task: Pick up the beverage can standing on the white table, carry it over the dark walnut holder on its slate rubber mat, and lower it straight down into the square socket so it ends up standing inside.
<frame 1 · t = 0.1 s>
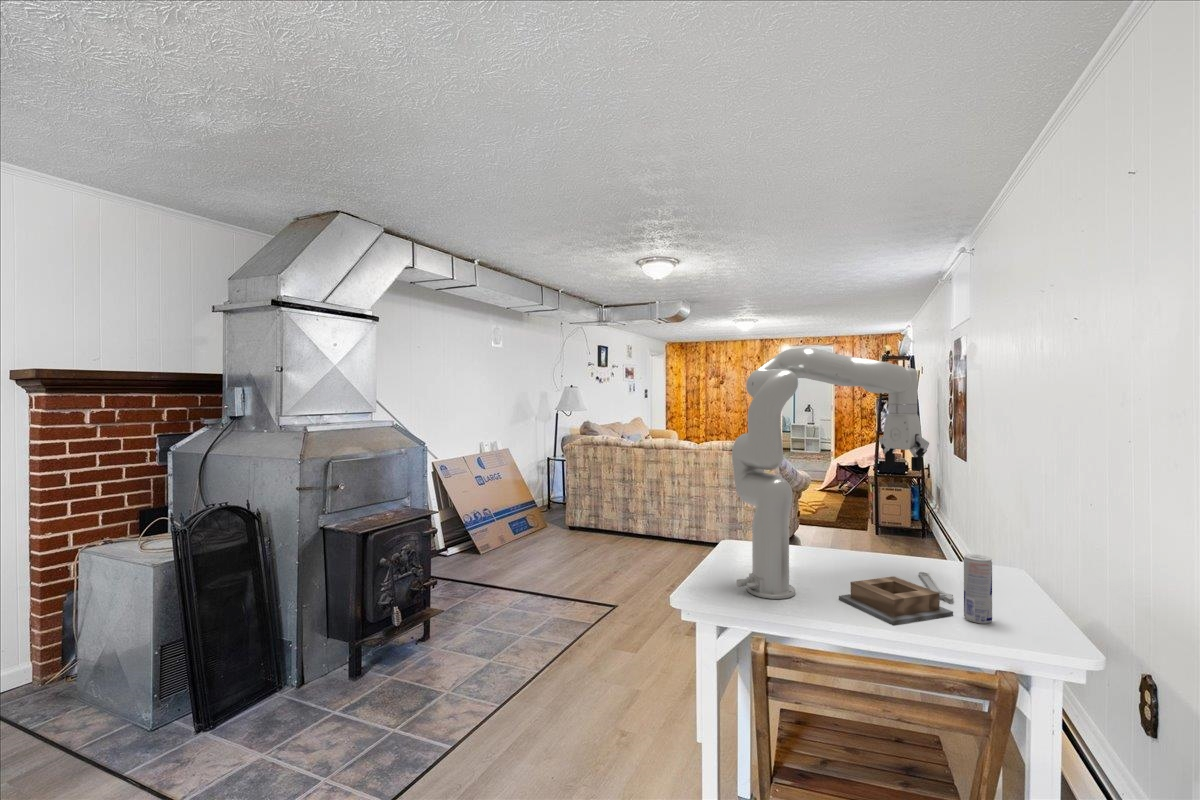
hand: (902, 468, 173), 31 cm above the table, tool pointing down, fingers open, 9 cm apart
holder: (893, 607, 147), on the table
beverage can: (977, 621, 139), on the table
adjustable wrench: (934, 591, 161), on the table
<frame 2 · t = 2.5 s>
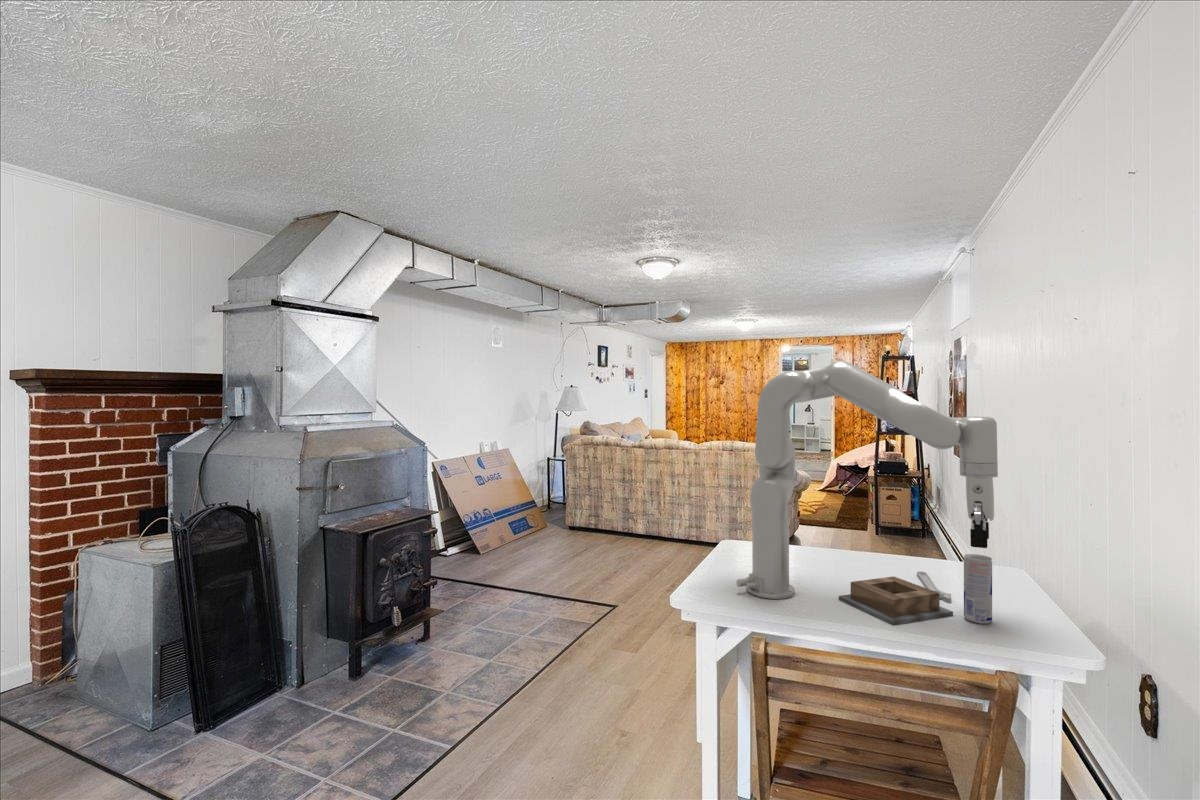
hand: (980, 542, 138), 18 cm above the table, tool pointing down, fingers open, 9 cm apart
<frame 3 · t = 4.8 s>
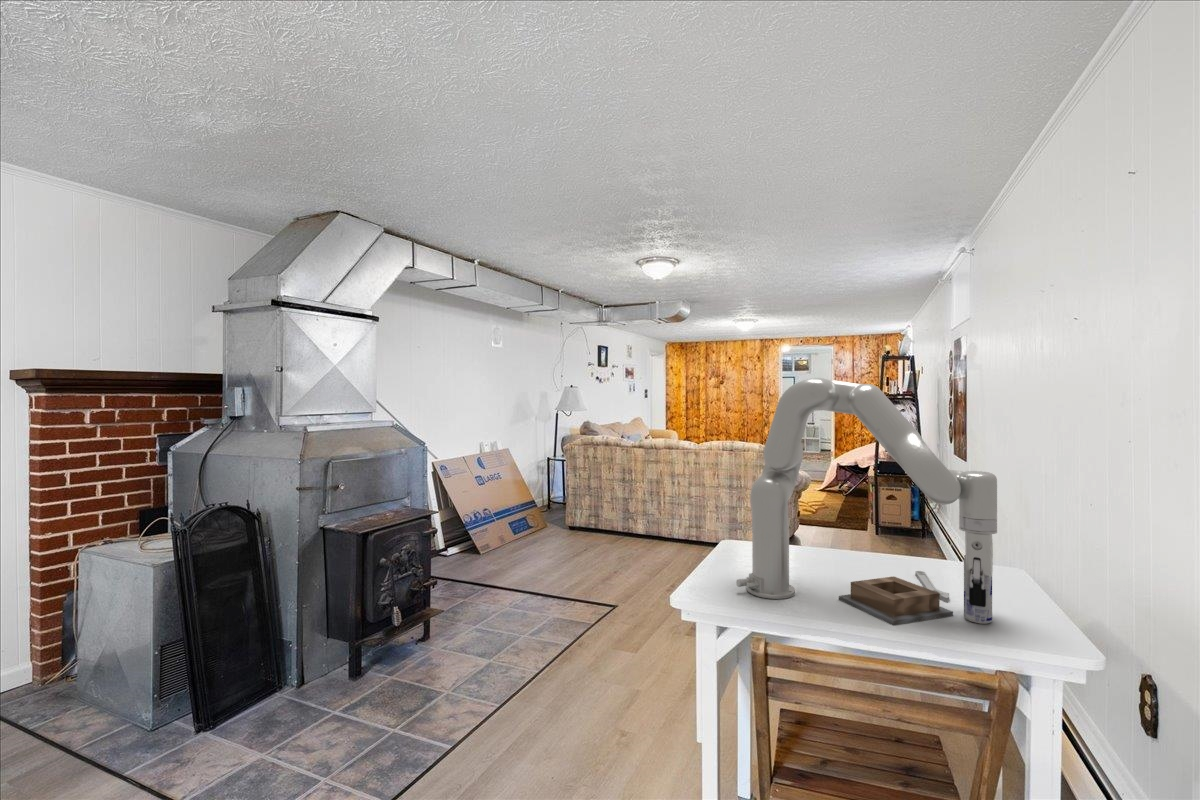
hand: (978, 600, 139), 5 cm above the table, tool pointing down, fingers closed on beverage can, 5 cm apart
beverage can: (977, 621, 139), on the table, touching gripper
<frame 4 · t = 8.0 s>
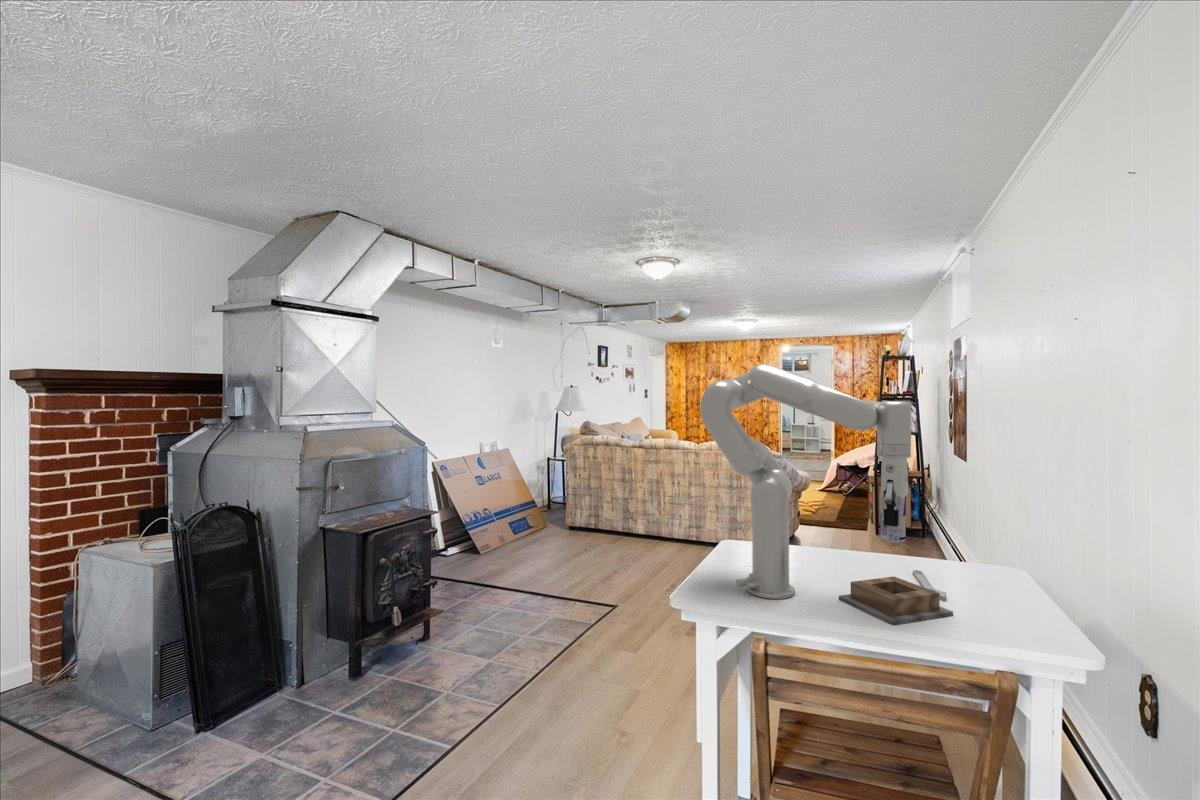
hand: (893, 522, 147), 21 cm above the table, tool pointing down, fingers closed on beverage can, 5 cm apart
beverage can: (892, 541, 147), point 16 cm above the table, touching gripper
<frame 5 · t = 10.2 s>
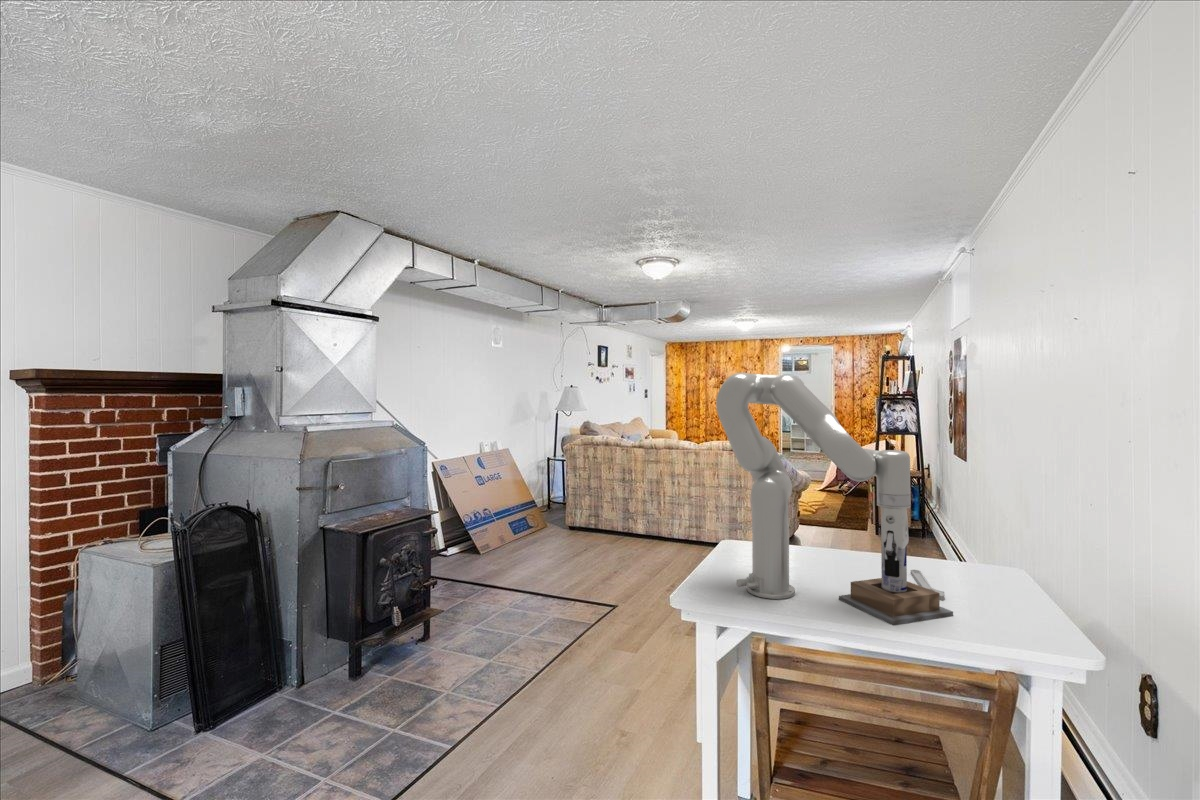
hand: (894, 572, 147), 9 cm above the table, tool pointing down, fingers closed on beverage can, 5 cm apart
beverage can: (894, 591, 147), point 4 cm above the table, touching gripper
when the fingers open (7 cm above the table, at t = 11.5 s): beverage can drops 1 cm, resting on holder.
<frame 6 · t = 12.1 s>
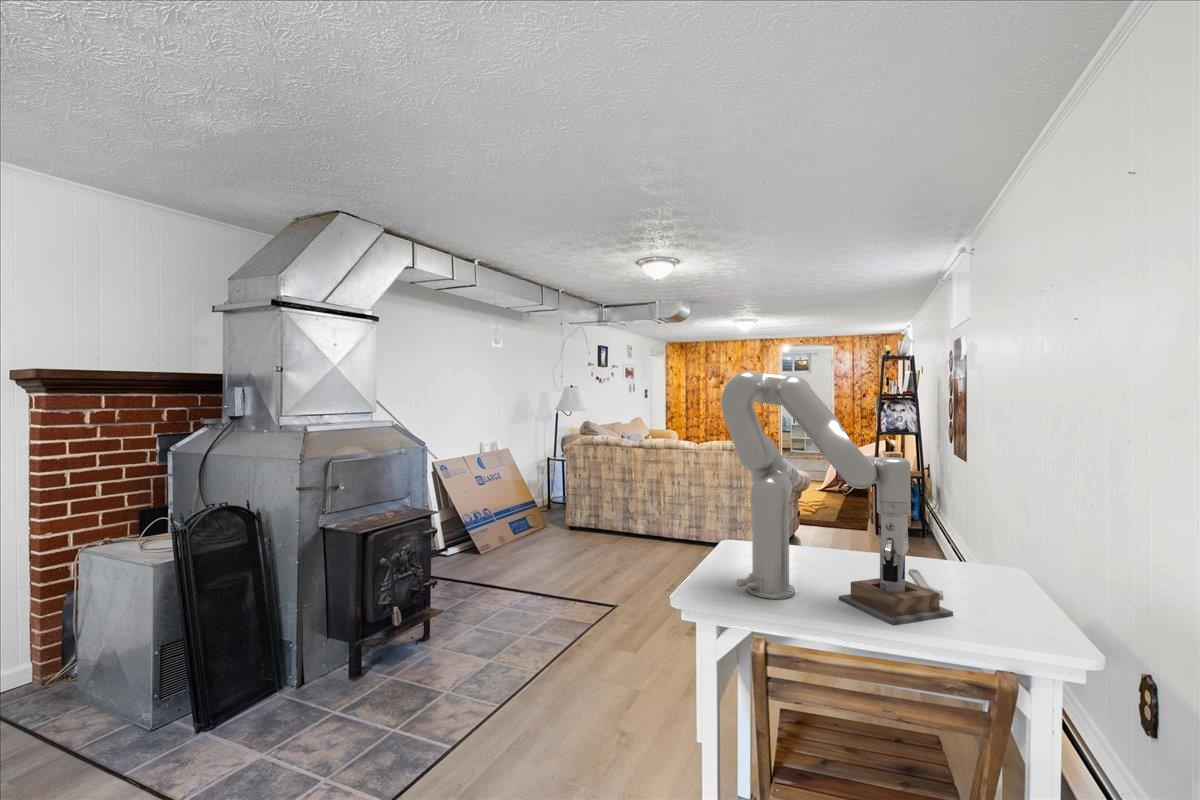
hand: (893, 576, 147), 8 cm above the table, tool pointing down, fingers open, 9 cm apart
beverage can: (892, 604, 147), point 1 cm above the table, touching holder
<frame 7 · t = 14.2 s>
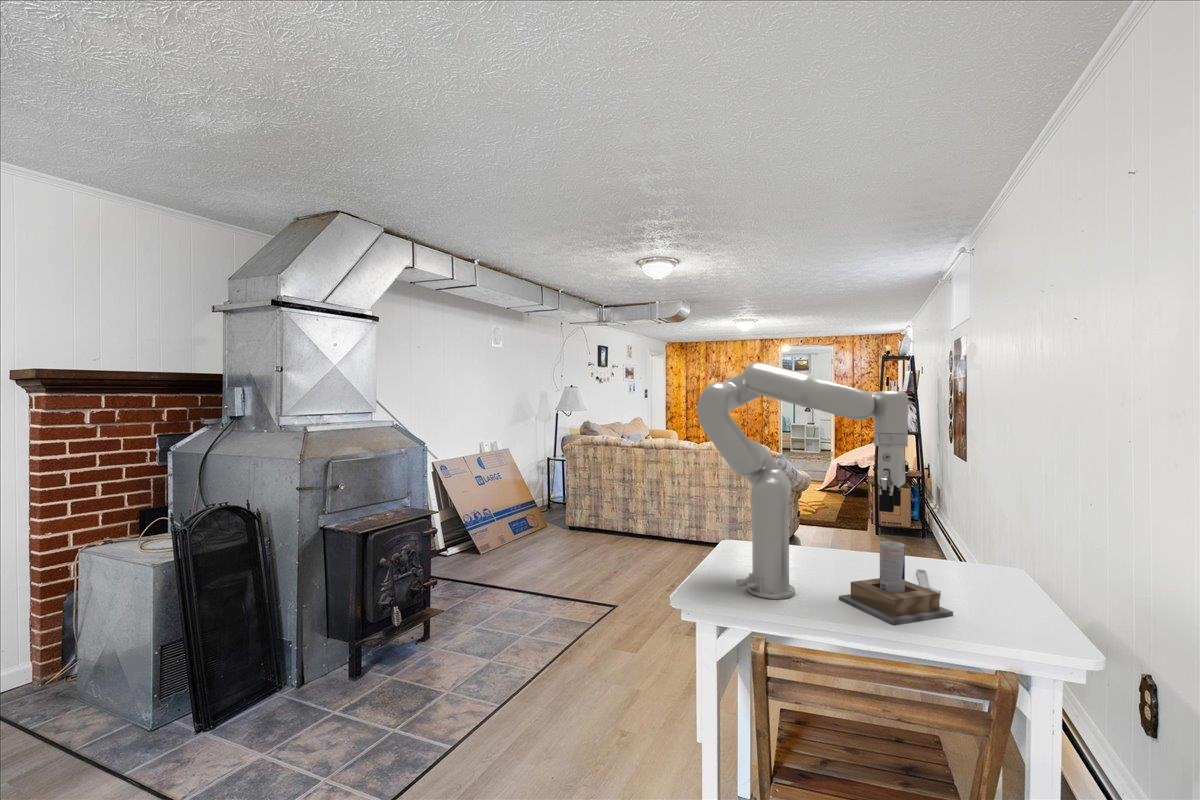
hand: (890, 508, 148), 24 cm above the table, tool pointing down, fingers open, 9 cm apart
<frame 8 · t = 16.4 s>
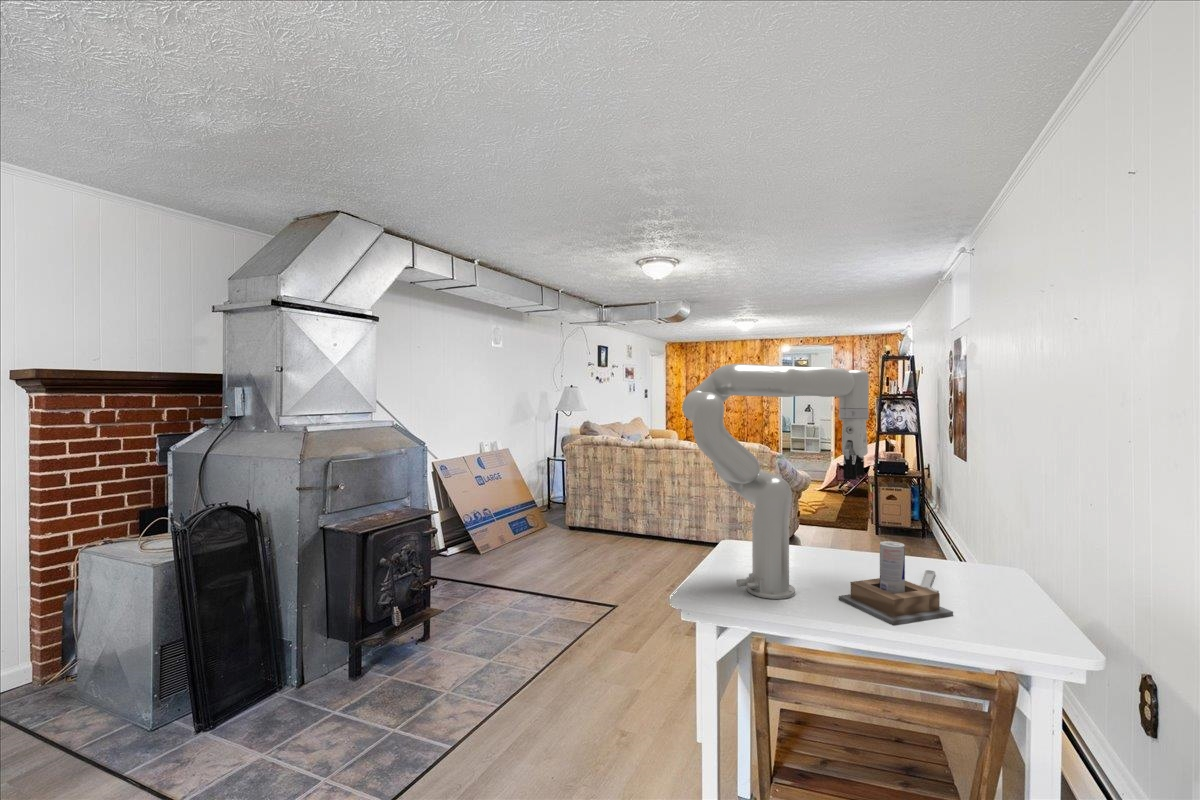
hand: (853, 477, 163), 30 cm above the table, tool pointing down, fingers open, 9 cm apart
at the end: beverage can 0.4 cm off-centre on the holder, point 0.8 cm above the holder's base; beverage can tilted 0°; the gripper is holding nothing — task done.
